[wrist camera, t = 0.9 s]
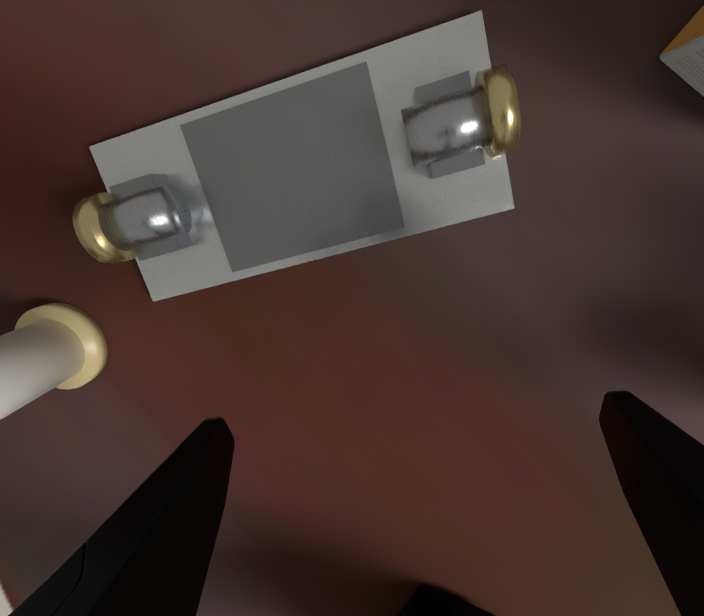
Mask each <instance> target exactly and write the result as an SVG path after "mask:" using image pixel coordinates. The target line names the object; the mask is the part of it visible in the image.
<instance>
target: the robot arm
mask: <svg viewBox="0 0 704 616" xmlns="http://www.w3.org/2000/svg"><path fill="white" fill-rule="evenodd" d="M599 422H600V426H601V429H602V432H603V435H604V438H605V441H606V444H607V447H608V450H609V453H610V456H611V459H612V462H613V464H614V467H615V470H616V473H617V476H618V479H619V482H620V485H621V487H622V490H623V493H624V495H625V497H626V499H627V502H628V504H629V506H630V508H631V510H632V512H633V515H634V517H635V519H636V521H637V523H638V525H639V527H640V529H641V531H642V534H643V536H644V538H645V540H646V542H647V544H648V546H649V548H650V551H651V553H652V555H653V557H654V559H655V561H656V563H657V565H658V568H659V570H660V572H661V574H662V576H663V578H664V580H665V582H666V584H667V587H668V589H669V591H670V593H671V595H672V597H673V599H674V601H675V604H676V606H677V608H678V610H679V612H680V614H681V616H704V445H702V444H701V443H700V442H698V441H697V440H696V439H694V438H693V437H691V436H690V435H689V434H687V433H686V432H684V431H683V430H682V429H680V428H679V427H678V426H676V425H675V424H673V423H672V422H671V421H669V420H668V419H666V418H665V417H664V416H662V415H661V414H660V413H658V412H657V411H655V410H654V409H653V408H651V407H650V406H649V405H647V404H646V403H644V402H643V401H642V400H640V399H639V398H637V397H636V396H635V395H633V394H632V393H630V392H628V391H609V392H607V393H606V394H605V396H604V400H603V403H602V407H601V411H600V415H599ZM233 452H234V437H233V435H232V433H231V431H230V429H229V428H228V426H227V424H226V422H225V420H224V419H223V418H221V417H216V418H207V419H205V420H204V421H203V422H202V423H201V424H200V425H199V426H198V427H197V428H196V429H195V430H194V431H193V432H192V433H191V434H190V435H189V436H188V437H187V438H186V439H185V440H184V441H183V442H182V443H181V444H180V445H179V446H178V447H177V448H176V449H175V450H174V451H173V452H172V453H171V454H170V455H169V456H168V458H167V459H166V460H165V461H164V462H163V463H162V464H161V465H160V466H159V467H158V468H157V469H156V470H155V471H154V472H153V473H152V474H151V475H150V476H149V477H148V478H147V479H146V480H145V481H144V482H143V483H142V484H141V485H140V486H139V487H138V488H137V489H136V490H135V491H134V492H133V493H132V494H131V495H130V496H129V497H128V498H127V499H126V500H125V501H124V502H123V503H122V505H121V506H120V507H119V508H118V509H117V510H116V511H115V512H114V513H113V514H112V515H111V516H110V517H109V518H108V519H107V520H106V521H105V522H104V523H103V524H102V525H101V526H100V527H99V528H98V529H97V530H96V531H95V532H94V533H93V534H92V535H91V536H90V537H89V538H88V539H87V542H86V543H83V544H82V545H81V546H80V547H79V548H78V549H77V550H76V551H75V552H74V553H73V554H72V555H71V556H70V557H69V558H68V559H67V560H66V561H65V562H64V563H63V564H62V565H61V566H60V567H59V568H58V569H57V570H56V571H55V572H54V573H53V574H52V575H51V576H50V577H49V578H48V579H47V580H46V581H45V582H44V583H43V584H42V585H41V586H40V587H39V588H38V589H37V590H36V591H34V592H33V593H32V594H31V595H30V596H29V597H28V598H27V599H26V600H25V601H24V602H23V603H22V604H21V605H19V606H18V607H17V608H16V609H15V610H14V611H13V612H12V613H11V614H10V615H8V616H196V613H197V609H198V605H199V601H200V598H201V594H202V590H203V586H204V583H205V579H206V575H207V571H208V568H209V564H210V560H211V556H212V553H213V549H214V545H215V541H216V537H217V534H218V530H219V526H220V522H221V519H222V515H223V511H224V506H225V502H226V496H227V490H228V484H229V477H230V471H231V464H232V458H233ZM399 616H491V615H489V614H487V613H484V612H482V611H480V610H478V609H476V608H474V607H471V606H469V605H467V604H465V603H463V602H460V601H458V600H456V599H454V598H452V597H449V596H447V595H445V594H443V593H441V592H438V591H436V590H434V589H432V588H430V587H427V586H421V587H419V588H418V590H417V591H416V592H415V594H414V595H413V597H412V598H411V599H410V601H409V602H408V604H407V605H406V606H405V608H404V609H403V610H402V612H401V613H400V615H399Z"/></svg>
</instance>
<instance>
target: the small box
mask: <svg viewBox="0 0 704 616" xmlns="http://www.w3.org/2000/svg"><path fill="white" fill-rule="evenodd" d="M660 60H661V61H662V62H663V63H665V64H666V65H667V66H668V67H669V68H670V69H672V70H673V71H674V72H675V73H676V74H678V75H679V76H680V77H681V78H682V79H683V80H685V81H686V82H687V83H688V84H689V85H690V86H692V87H693V88H694V89H695V90H696V91H697V92H699V93H700V94H701V95H702V96H703V97H704V5H703V6H702V7H701V9H700V10H699V11H698V12H697V13H696V14H695V15H694V17H693V18H692V19H691V20H690V21H689V22H688V24H687V25H686V26H685V27H684V28H683V29H682V30H681V31H680V33H679V34H678V35H677V36H676V37H675V38H674V39H673V40H672V42H671V43H670V44H669V45H668V46H667V47H666V48H665V49H664V51H663V52H662V53H661V54H660Z"/></svg>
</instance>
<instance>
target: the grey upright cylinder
mask: <svg viewBox="0 0 704 616" xmlns="http://www.w3.org/2000/svg"><path fill="white" fill-rule="evenodd" d="M107 358H108V347H107V342H106V339H105V336H104V334H103V332H102V330H101V329H100V327H99V326H98V324H97V323H96V322H95V321H94V320H93V319H92V317H90V316H89V315H88V314H87V313H86V312H84V311H83V310H81V309H79V308H77V307H75V306H73V305H70V304H66V303H60V302H54V303H49V304H45V305H42V306H39V307H37V308H34V309H31V310H29V311H27V312H26V313H24V314H23V315H22V316H21V317H20V318H19V320H18V321H17V324H16V326H15V330H14V331H11V332H9V333H6V334H3V335H1V336H0V420H1V419H3V418H4V417H6V416H8V415H9V414H11V413H13V412H14V411H16V410H18V409H19V408H21V407H23V406H24V405H26V404H28V403H29V402H31V401H33V400H34V399H36V398H38V397H39V396H41V395H43V394H45V393H46V392H48V391H50V390H51V389H53V388H59V389H74V388H78V387H80V386H83V385H84V384H86V383H87V382H89V381H90V380H92V379H93V378H95V377H97V376H98V375H99V374H100V373H101V372H102V370H103V369H104V367H105V365H106V362H107Z"/></svg>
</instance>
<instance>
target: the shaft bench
mask: <svg viewBox="0 0 704 616" xmlns="http://www.w3.org/2000/svg"><path fill="white" fill-rule="evenodd" d="M520 135H521V116H520V106H519V99H518V94H517V89H516V85H515V82H514V78H513V76H512V73H511V71H510V69H509V68H508V66H507V65H506V64H500V65H497V66H494V67H491V63H490V57H489V51H488V45H487V39H486V33H485V27H484V21H483V15H482V10H481V11H478V12H475V13H472V14H469V15H466V16H464V17H461V18H458V19H455V20H452V21H449V22H446V23H443V24H441V25H438V26H435V27H432V28H429V29H426V30H423V31H420V32H418V33H415V34H412V35H409V36H406V37H403V38H400V39H397V40H394V41H392V42H389V43H386V44H383V45H380V46H377V47H374V48H371V49H369V50H366V51H363V52H360V53H357V54H354V55H351V56H348V57H346V58H343V59H340V60H337V61H334V62H331V63H328V64H325V65H323V66H320V67H317V68H314V69H311V70H308V71H305V72H302V73H300V74H297V75H294V76H291V77H288V78H285V79H282V80H279V81H277V82H274V83H271V84H268V85H265V86H262V87H259V88H256V89H254V90H251V91H248V92H245V93H242V94H239V95H236V96H233V97H231V98H228V99H225V100H222V101H219V102H216V103H213V104H210V105H208V106H205V107H202V108H199V109H196V110H193V111H190V112H187V113H185V114H182V115H179V116H176V117H173V118H170V119H167V120H164V121H161V122H159V123H156V124H153V125H150V126H147V127H144V128H141V129H138V130H136V131H133V132H130V133H127V134H124V135H121V136H118V137H115V138H113V139H110V140H107V141H104V142H101V143H98V144H95V145H92V146H90V147H89V148H90V151H91V153H92V155H93V158H94V160H95V163H96V165H97V167H98V170H99V172H100V175H101V177H102V180H103V182H104V184H105V187H106V189H107V192H108V193H106V192H103V193H99V194H96V195H93V196H90V197H86V198H83V199H81V200H80V201H78V202H77V204H76V205H75V207H74V210H73V225H74V229H75V232H76V235H77V237H78V239H79V241H80V243H81V244H82V246H83V247H84V248H85V250H86V251H87V252H88V253H89V254H90V255H91V256H92V257H94V258H95V259H97V260H98V261H100V262H102V263H105V264H117V263H121V262H125V261H128V260H132V259H134V258H135V259H136V261H137V264H138V266H139V269H140V271H141V274H142V276H143V278H144V281H145V283H146V286H147V288H148V290H149V293H150V295H151V298H152V300H153V302H154V301H158V300H161V299H165V298H169V297H173V296H177V295H181V294H185V293H189V292H192V291H196V290H200V289H204V288H208V287H212V286H216V285H220V284H223V283H227V282H231V281H235V280H239V279H243V278H247V277H251V276H254V275H258V274H262V273H266V272H270V271H274V270H278V269H282V268H285V267H289V266H293V265H297V264H301V263H305V262H309V261H313V260H316V259H320V258H324V257H328V256H332V255H336V254H340V253H344V252H347V251H351V250H355V249H359V248H363V247H367V246H371V245H375V244H378V243H382V242H386V241H390V240H394V239H398V238H402V237H406V236H409V235H413V234H417V233H421V232H425V231H429V230H433V229H437V228H440V227H444V226H448V225H452V224H456V223H460V222H464V221H468V220H471V219H475V218H479V217H483V216H487V215H491V214H495V213H499V212H502V211H506V210H510V209H514V203H513V197H512V191H511V185H510V179H509V173H508V167H507V161H506V155H505V154H507V153H511V152H514V151H516V150H517V148H518V146H519V142H520Z"/></svg>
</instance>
